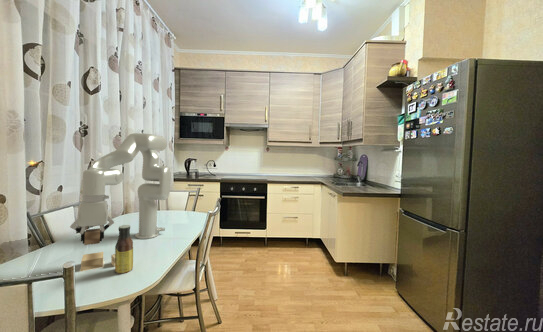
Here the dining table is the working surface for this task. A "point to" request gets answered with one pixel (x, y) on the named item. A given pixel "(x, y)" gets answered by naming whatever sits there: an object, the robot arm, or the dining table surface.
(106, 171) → the robot arm
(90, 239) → the walnut cube
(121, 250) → the sauce bottle
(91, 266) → the oak plinth
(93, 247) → the dining table surface
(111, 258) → the maple block
